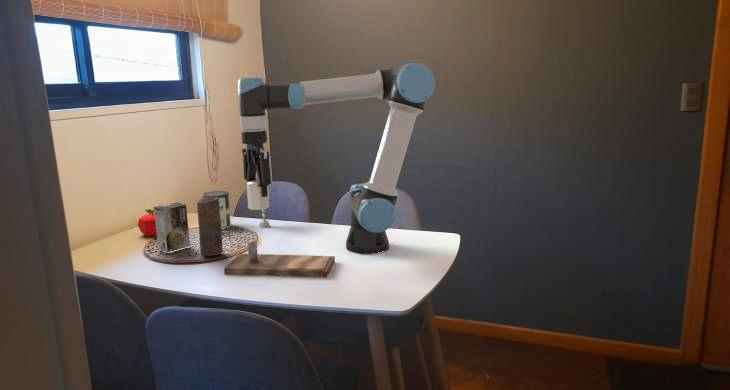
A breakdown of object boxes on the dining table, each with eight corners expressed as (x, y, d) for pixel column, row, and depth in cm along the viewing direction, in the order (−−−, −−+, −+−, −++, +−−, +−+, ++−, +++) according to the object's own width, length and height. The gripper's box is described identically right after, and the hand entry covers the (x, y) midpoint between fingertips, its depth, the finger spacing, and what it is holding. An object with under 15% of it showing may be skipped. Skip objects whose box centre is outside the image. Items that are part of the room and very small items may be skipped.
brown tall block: (216, 259, 176) (212, 201, 171) (196, 258, 177) (191, 200, 173) (227, 252, 183) (223, 196, 179) (207, 251, 184) (203, 195, 180)
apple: (174, 231, 210) (172, 206, 208) (157, 238, 200) (155, 213, 198) (151, 229, 212) (148, 205, 210) (133, 237, 202) (131, 211, 200)
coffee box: (180, 244, 192) (177, 201, 189) (190, 248, 188) (187, 204, 185) (157, 251, 185) (153, 206, 182) (167, 254, 181) (163, 209, 178)
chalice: (255, 225, 217) (252, 182, 214) (271, 223, 219) (269, 181, 216) (257, 229, 211) (254, 185, 207) (274, 228, 213) (271, 184, 209)
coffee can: (218, 222, 222) (216, 189, 219) (236, 225, 217) (234, 192, 214) (199, 228, 214) (196, 194, 211) (217, 231, 208) (214, 197, 205)
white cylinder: (272, 207, 163) (270, 181, 162) (254, 210, 160) (252, 183, 158) (263, 204, 168) (261, 178, 166) (245, 207, 164) (243, 181, 163)
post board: (334, 262, 172) (334, 237, 170) (326, 277, 159) (326, 250, 157) (240, 259, 176) (238, 235, 174) (224, 274, 162) (222, 248, 160)
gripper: (280, 131, 154) (284, 208, 159) (251, 127, 168) (255, 198, 173) (256, 133, 149) (262, 212, 154) (228, 129, 164) (234, 201, 169)
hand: (258, 204), depth 164 cm, fingers closed on white cylinder, 6 cm apart
